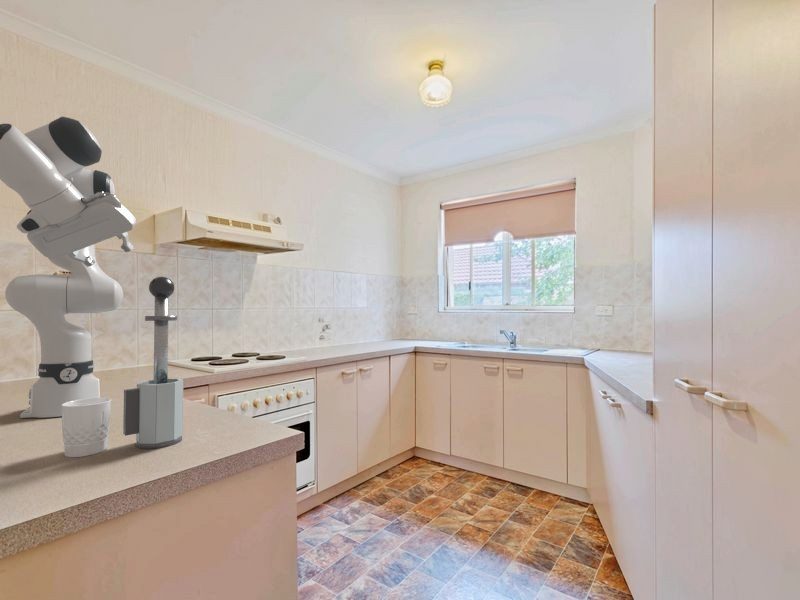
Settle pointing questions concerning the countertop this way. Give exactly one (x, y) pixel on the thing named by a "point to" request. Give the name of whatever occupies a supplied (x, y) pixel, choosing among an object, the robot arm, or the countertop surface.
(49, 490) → the countertop surface
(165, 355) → the plunger
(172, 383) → the grey faceted holder
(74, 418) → the white cup
